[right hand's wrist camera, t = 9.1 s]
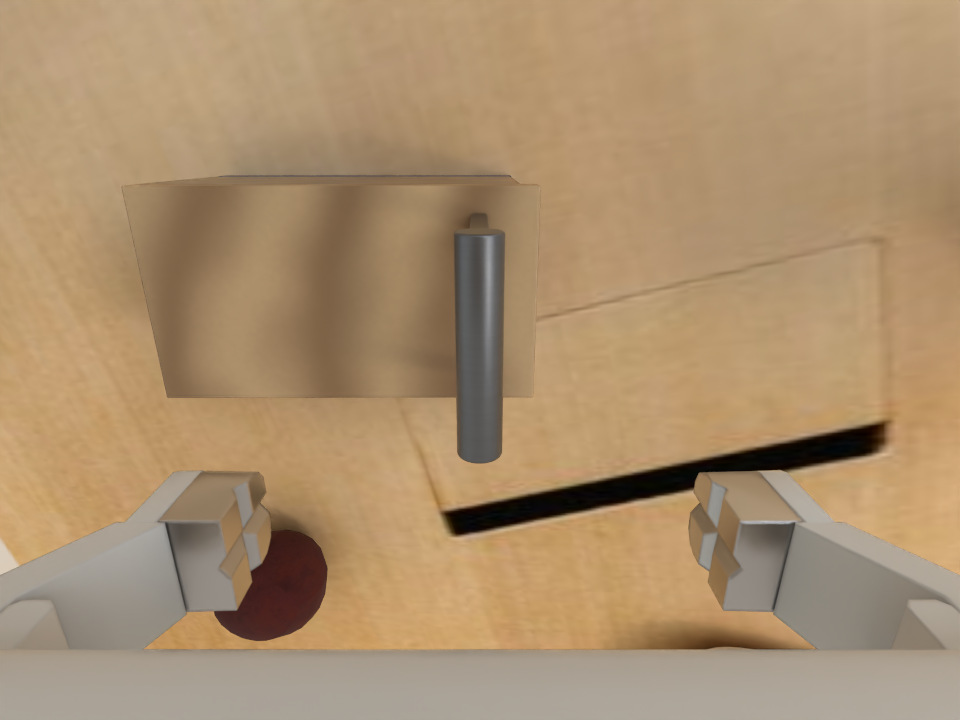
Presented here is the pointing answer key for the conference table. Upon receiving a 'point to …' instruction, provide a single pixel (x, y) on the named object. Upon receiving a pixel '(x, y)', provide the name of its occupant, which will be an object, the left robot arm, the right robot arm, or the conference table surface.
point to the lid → (344, 293)
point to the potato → (280, 589)
